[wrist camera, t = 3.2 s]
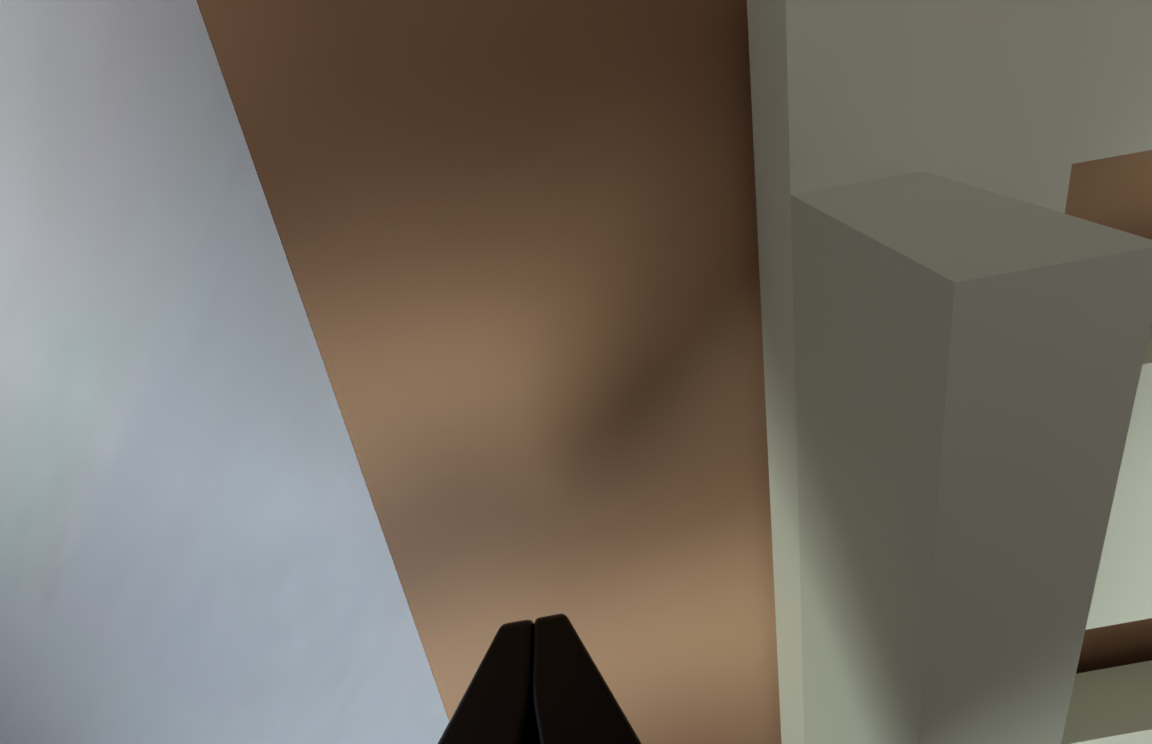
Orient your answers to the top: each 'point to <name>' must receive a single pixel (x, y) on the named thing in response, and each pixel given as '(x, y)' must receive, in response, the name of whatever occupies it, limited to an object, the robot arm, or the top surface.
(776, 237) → the sage panel
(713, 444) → the walnut board
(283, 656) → the top surface
